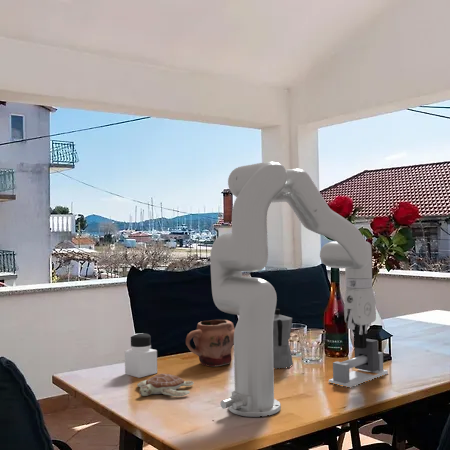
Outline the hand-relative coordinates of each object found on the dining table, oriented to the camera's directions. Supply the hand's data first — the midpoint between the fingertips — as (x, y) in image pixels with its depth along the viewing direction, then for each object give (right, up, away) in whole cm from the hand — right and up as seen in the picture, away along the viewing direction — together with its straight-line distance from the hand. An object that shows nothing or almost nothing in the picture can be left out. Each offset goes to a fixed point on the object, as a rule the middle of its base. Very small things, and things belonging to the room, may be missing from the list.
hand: (360, 347), depth 155 cm
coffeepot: (-22, -10, +15) cm, 28 cm away
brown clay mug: (-43, -10, +18) cm, 48 cm away
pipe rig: (0, -9, -1) cm, 9 cm away
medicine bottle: (-65, -10, +8) cm, 66 cm away
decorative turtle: (-56, -10, -10) cm, 57 cm away
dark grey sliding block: (+2, -7, +2) cm, 8 cm away
